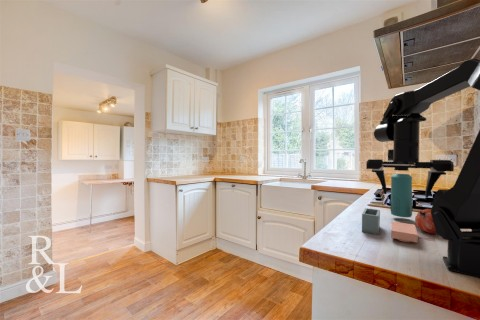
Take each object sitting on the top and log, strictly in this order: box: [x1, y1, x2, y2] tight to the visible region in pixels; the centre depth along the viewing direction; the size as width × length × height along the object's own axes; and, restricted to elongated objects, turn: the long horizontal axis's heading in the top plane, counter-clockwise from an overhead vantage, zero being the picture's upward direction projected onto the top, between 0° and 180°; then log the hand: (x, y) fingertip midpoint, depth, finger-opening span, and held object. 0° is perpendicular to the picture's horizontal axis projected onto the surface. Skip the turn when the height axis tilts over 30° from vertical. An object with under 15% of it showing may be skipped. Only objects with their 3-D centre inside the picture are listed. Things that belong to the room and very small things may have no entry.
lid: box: [390, 220, 419, 243], centre depth 62 cm, size 10×6×3 cm, turn 145°
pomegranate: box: [414, 208, 437, 235], centre depth 66 cm, size 7×7×10 cm
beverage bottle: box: [389, 168, 414, 218], centre depth 80 cm, size 6×7×20 cm
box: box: [361, 207, 381, 236], centre depth 69 cm, size 9×4×6 cm, turn 145°
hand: (405, 195), depth 61 cm, fingers open, 9 cm apart
